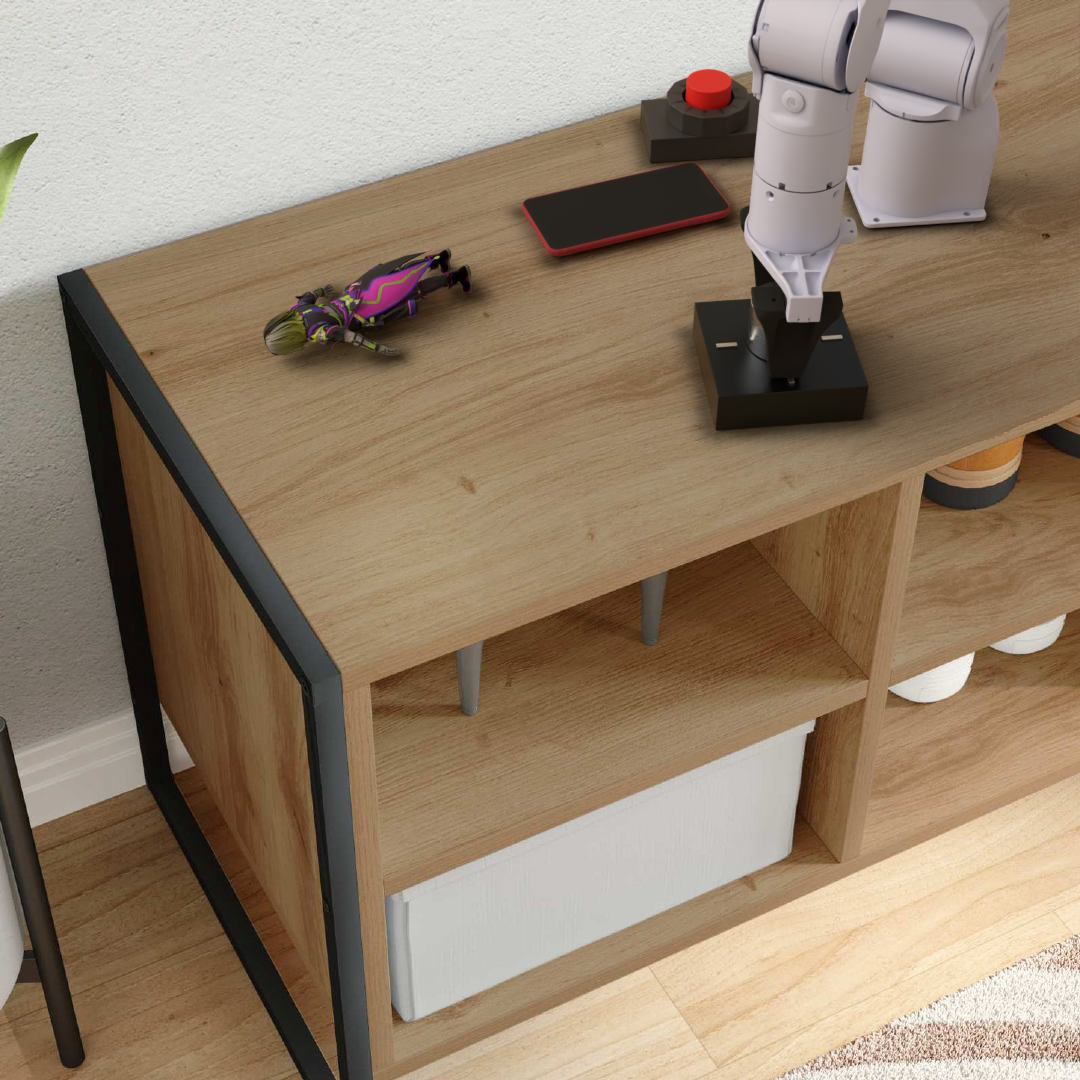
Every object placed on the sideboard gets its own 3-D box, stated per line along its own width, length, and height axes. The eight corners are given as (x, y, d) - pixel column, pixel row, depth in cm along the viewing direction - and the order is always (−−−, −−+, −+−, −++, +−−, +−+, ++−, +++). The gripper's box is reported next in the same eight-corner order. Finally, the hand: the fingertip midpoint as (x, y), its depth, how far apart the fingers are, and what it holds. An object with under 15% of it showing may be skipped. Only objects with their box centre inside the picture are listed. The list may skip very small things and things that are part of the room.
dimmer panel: (830, 326, 112) (836, 290, 110) (863, 419, 106) (869, 383, 103) (692, 335, 112) (694, 300, 110) (715, 430, 105) (718, 394, 103)
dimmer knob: (743, 322, 108) (748, 277, 105) (808, 321, 108) (814, 276, 105) (749, 363, 105) (754, 318, 102) (815, 362, 105) (822, 317, 102)
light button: (726, 86, 128) (727, 67, 127) (734, 110, 126) (735, 90, 124) (682, 89, 128) (683, 70, 127) (689, 113, 125) (690, 93, 124)
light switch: (758, 114, 132) (762, 70, 129) (772, 157, 127) (777, 113, 124) (639, 121, 131) (641, 78, 128) (650, 165, 127) (652, 121, 124)
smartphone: (518, 199, 122) (695, 159, 125) (518, 209, 123) (695, 169, 126) (551, 253, 117) (734, 209, 121) (551, 262, 118) (733, 219, 121)
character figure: (425, 256, 120) (236, 328, 113) (423, 213, 117) (230, 285, 110) (494, 318, 114) (301, 397, 108) (494, 275, 112) (296, 354, 105)
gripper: (883, 236, 92) (853, 410, 101) (849, 102, 101) (825, 273, 111) (762, 237, 92) (744, 412, 101) (740, 104, 102) (725, 275, 111)
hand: (779, 340), depth 106 cm, fingers open, 6 cm apart
